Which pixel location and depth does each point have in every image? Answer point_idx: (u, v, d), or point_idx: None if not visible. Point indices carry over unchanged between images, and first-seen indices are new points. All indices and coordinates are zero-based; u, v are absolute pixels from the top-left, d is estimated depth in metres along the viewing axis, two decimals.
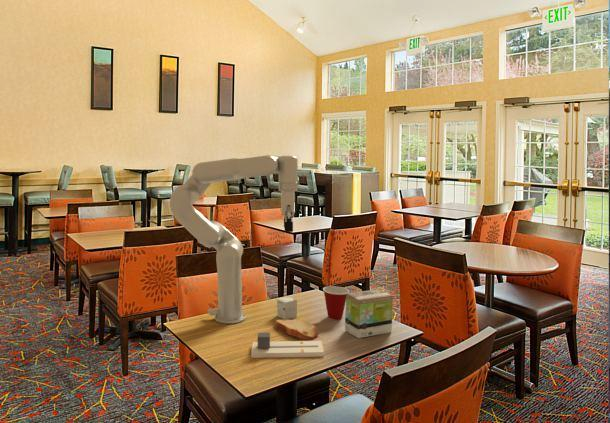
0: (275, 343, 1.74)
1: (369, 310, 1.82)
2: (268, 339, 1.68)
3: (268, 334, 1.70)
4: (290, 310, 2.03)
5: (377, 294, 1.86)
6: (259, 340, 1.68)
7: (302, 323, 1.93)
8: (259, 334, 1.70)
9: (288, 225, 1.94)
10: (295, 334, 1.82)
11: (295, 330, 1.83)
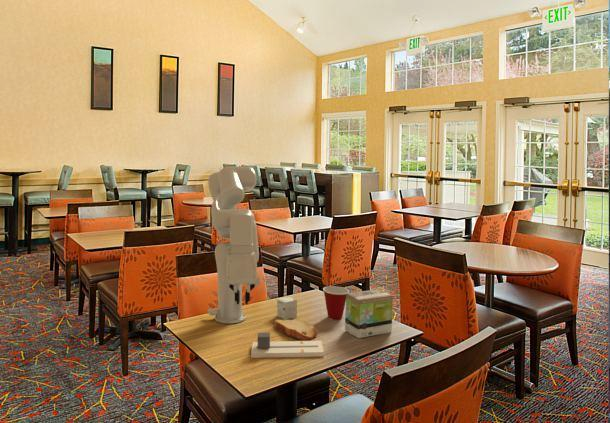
0: (275, 343, 1.74)
1: (369, 310, 1.82)
2: (268, 339, 1.68)
3: (268, 334, 1.70)
4: (290, 310, 2.03)
5: (377, 294, 1.86)
6: (259, 340, 1.68)
7: (301, 323, 1.93)
8: (259, 334, 1.70)
9: (249, 295, 1.68)
10: (294, 334, 1.82)
11: (294, 330, 1.82)
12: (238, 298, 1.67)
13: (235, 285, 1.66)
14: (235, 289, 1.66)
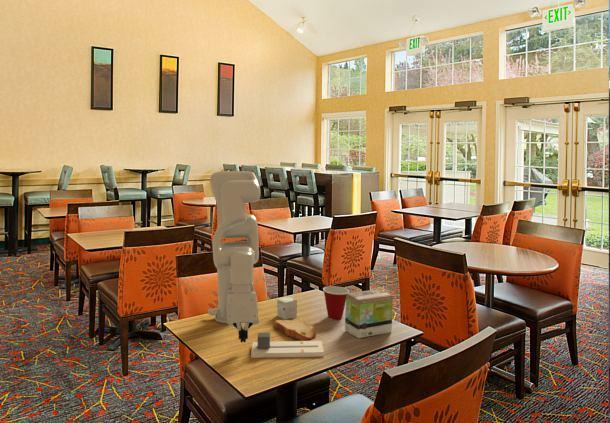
0: (275, 343, 1.74)
1: (369, 310, 1.82)
2: (268, 339, 1.68)
3: (268, 334, 1.70)
4: (290, 310, 2.03)
5: (377, 294, 1.86)
6: (259, 340, 1.68)
7: (301, 324, 1.93)
8: (259, 334, 1.70)
9: (247, 333, 1.69)
10: (293, 334, 1.82)
11: (293, 330, 1.82)
12: (242, 336, 1.68)
13: (239, 323, 1.67)
14: (239, 327, 1.68)
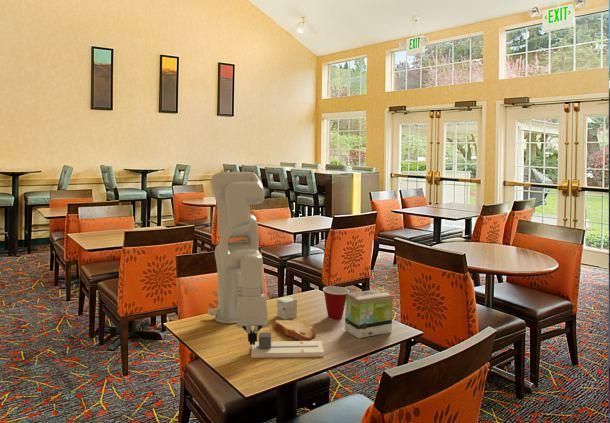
0: (275, 343, 1.74)
1: (369, 310, 1.82)
2: (269, 339, 1.68)
3: (269, 334, 1.70)
4: (290, 310, 2.03)
5: (377, 294, 1.86)
6: (260, 340, 1.68)
7: (301, 324, 1.93)
8: (260, 334, 1.70)
9: (256, 336, 1.70)
10: (292, 335, 1.82)
11: (292, 331, 1.82)
12: (251, 339, 1.68)
13: (248, 326, 1.68)
14: (248, 330, 1.68)
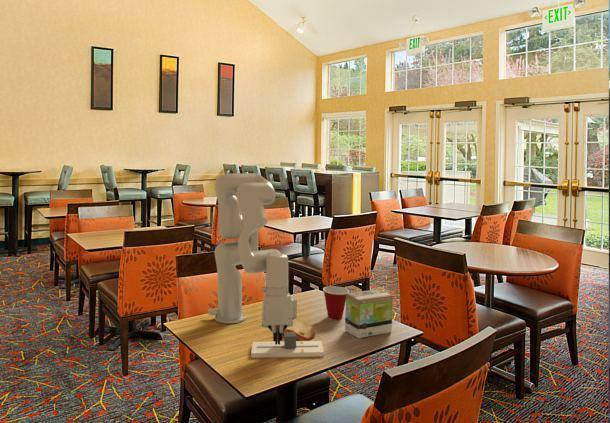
0: None
1: (369, 310, 1.82)
2: (295, 339, 1.68)
3: (294, 334, 1.70)
4: None
5: (377, 294, 1.86)
6: (286, 340, 1.68)
7: (300, 324, 1.92)
8: (285, 333, 1.71)
9: (281, 335, 1.70)
10: None
11: (291, 331, 1.82)
12: (276, 338, 1.69)
13: (274, 326, 1.68)
14: (274, 329, 1.68)
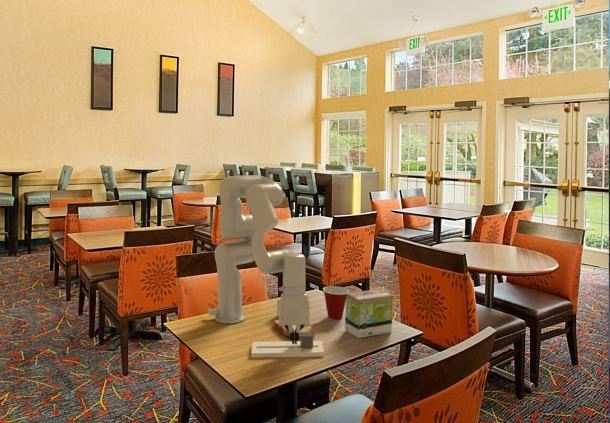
0: (275, 343, 1.74)
1: (369, 310, 1.82)
2: (312, 338, 1.69)
3: (311, 333, 1.71)
4: None
5: (377, 294, 1.86)
6: (303, 339, 1.69)
7: None
8: (302, 333, 1.71)
9: (298, 335, 1.70)
10: None
11: None
12: (293, 338, 1.69)
13: (291, 325, 1.68)
14: (291, 329, 1.69)
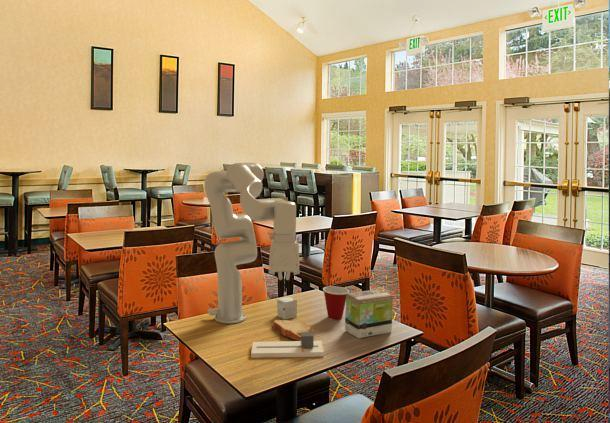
0: (275, 343, 1.74)
1: (369, 310, 1.82)
2: (312, 338, 1.69)
3: (311, 333, 1.71)
4: (290, 310, 2.03)
5: (377, 294, 1.86)
6: (303, 339, 1.69)
7: (299, 324, 1.92)
8: (303, 333, 1.71)
9: None
10: (289, 335, 1.81)
11: (289, 331, 1.82)
12: (283, 285, 1.70)
13: (280, 273, 1.69)
14: (280, 276, 1.70)
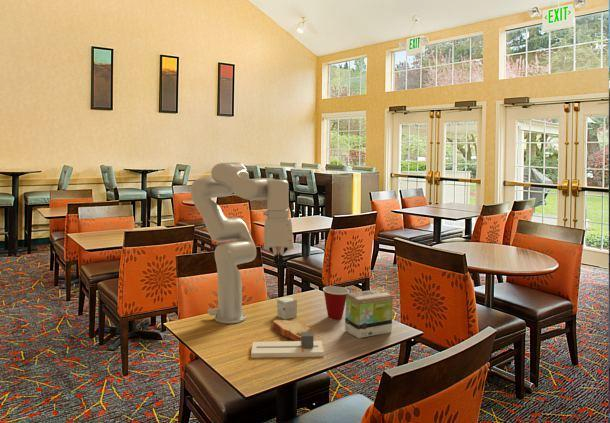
0: (275, 343, 1.74)
1: (369, 310, 1.82)
2: (312, 338, 1.69)
3: (311, 333, 1.71)
4: (290, 310, 2.03)
5: (377, 294, 1.86)
6: (303, 339, 1.69)
7: (299, 324, 1.92)
8: (303, 333, 1.71)
9: (282, 258, 1.79)
10: (288, 335, 1.81)
11: (288, 331, 1.82)
12: (277, 260, 1.78)
13: (275, 248, 1.77)
14: (275, 252, 1.77)
